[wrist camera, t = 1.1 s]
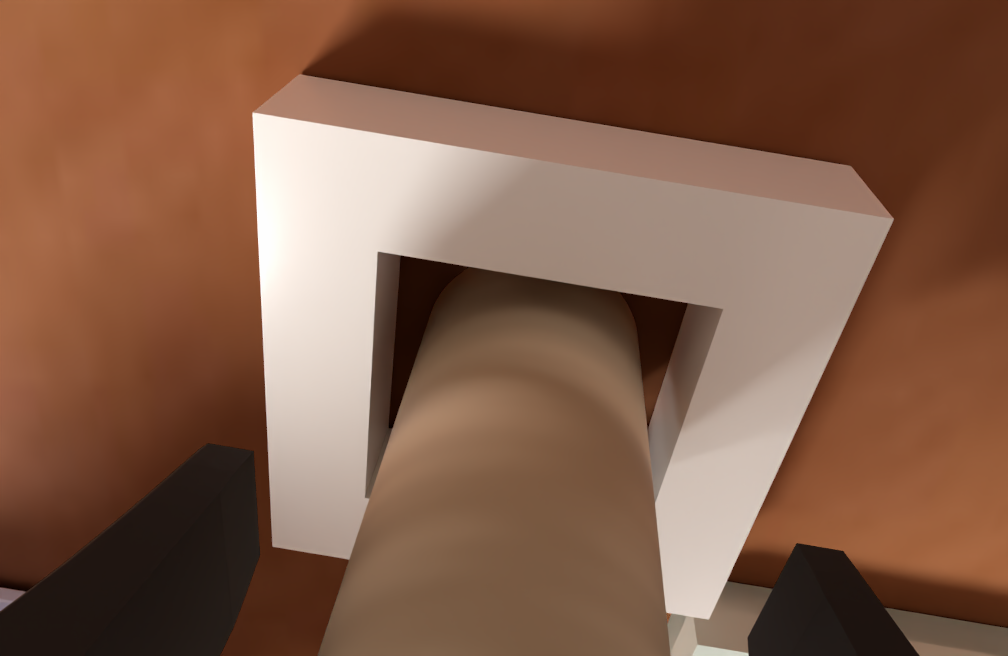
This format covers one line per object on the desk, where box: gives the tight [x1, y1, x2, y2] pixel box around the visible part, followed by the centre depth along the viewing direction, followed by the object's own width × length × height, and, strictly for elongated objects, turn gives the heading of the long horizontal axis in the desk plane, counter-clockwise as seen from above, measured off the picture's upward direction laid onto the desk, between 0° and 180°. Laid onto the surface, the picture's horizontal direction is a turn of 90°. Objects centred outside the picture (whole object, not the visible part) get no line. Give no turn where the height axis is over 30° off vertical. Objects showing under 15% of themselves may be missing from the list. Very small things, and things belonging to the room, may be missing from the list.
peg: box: [318, 267, 671, 656], centre depth 11 cm, size 4×4×8 cm
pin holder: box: [253, 74, 894, 620], centre depth 13 cm, size 9×9×2 cm
